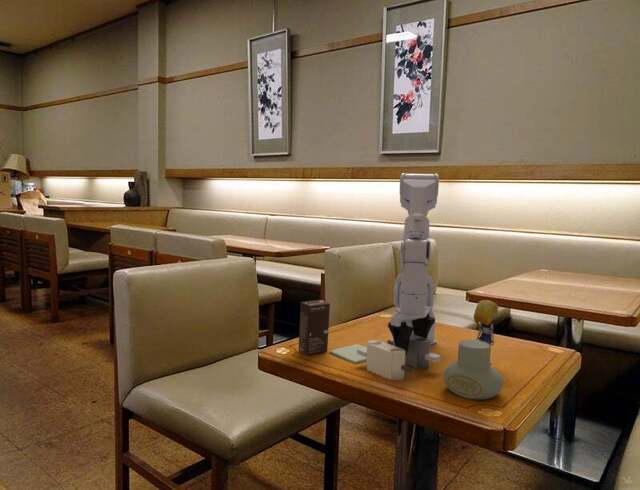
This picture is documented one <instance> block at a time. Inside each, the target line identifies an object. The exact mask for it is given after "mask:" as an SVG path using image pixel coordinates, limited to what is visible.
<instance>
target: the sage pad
mask: <svg viewBox="0 0 640 490" xmlns="http://www.w3.org/2000/svg"><path fill="white" fill-rule="evenodd" d="M361 348H366V349H367V346H364V345H361V344H359V343H355V344H352V345H348V346H344V347H343V346H342V347H340V348H339V347H338V348H334V349H331V350H329V354H332V355H335V356H336V357H339V358H341V359H342V360H343V359H344V360H346V361H348V362H350V363H353V364H355V365H356V364H360V363H364V362H366V357H364V356H361V355H359V354H357V349H361Z"/></svg>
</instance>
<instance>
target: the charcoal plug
mask: <svg viewBox="0 0 640 490" xmlns="http://www.w3.org/2000/svg"><path fill="white" fill-rule="evenodd" d="M392 339H393V338H392ZM430 342H431V341H430V340H429V339H426V338H423V337H420V336H417V335H413V334H411V336H410V340H409V346H408V352H407V355H406V356H405V365H406V366H407V365H408V366H411V367H414V368H416V369H422V370H427V369H429V368H430V362H432V363H437V362H440V361H441V360H442V355H439V354H437V353H434V352H431V345H430ZM386 343H387V344H390V345H393V346H395V342H394V339H393V341H391V339H388V340H387V341H386Z"/></svg>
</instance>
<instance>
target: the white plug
mask: <svg viewBox="0 0 640 490" xmlns="http://www.w3.org/2000/svg"><path fill="white" fill-rule="evenodd" d="M366 347H367V349H366V348H361V349H357V354H359V355H361V356H364V357H366V361H365V362H366V363H365V369H366V370H367V371H368V372H370V371H371V372H370V373H373V374H375V373H376V375H377V376H380V375H381V377H383V378H385V379H387V378H388V379H387V380H390V381H395V380H398V381H399V380H401V381H404V380H405V372H408V373H411V372H412V370H413V368H411V367H409V366H407V365H406V364H405V350H404V349H401V348H398V347H396V346H393V345H390V344H388V343H387V342H384V341H381V340H376V339H372V340H371V339H370V340H368V341H366ZM391 379H392V380H391ZM403 379H404V380H403ZM398 381H397V382H398ZM399 382H400V381H399Z"/></svg>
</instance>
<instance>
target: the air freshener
mask: <svg viewBox="0 0 640 490" xmlns="http://www.w3.org/2000/svg"><path fill="white" fill-rule="evenodd" d="M491 349H492V346H491V347H490V345H489V344H487V343H485V342H482V341H480V340H479V339H478V340H476V339H464V340H461V341H460V342H459V343H458V351H457V361H453V362H452V363H450V364H449V365H448V366H447V367H446V368H445V369H444V372H443V375H442V376H443V382H444V384H445V385H446V387H447V388H448V390H450V391H451V392H452V393H453V394H455V395H457V396H459V397H462V398H465V399H469V400H475V401H476V400H477V401H480V400H481V401H483V400H488V399H491V398H493V397H495V396H497V395H499V393H500V392H501V391H502V389H503V385H504V380H503V377H502V375H501V374H500V372H499V371H498V370H497V369H496V368H495V367H494V366H492V365H490V363H491V352H492V351H491Z"/></svg>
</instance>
